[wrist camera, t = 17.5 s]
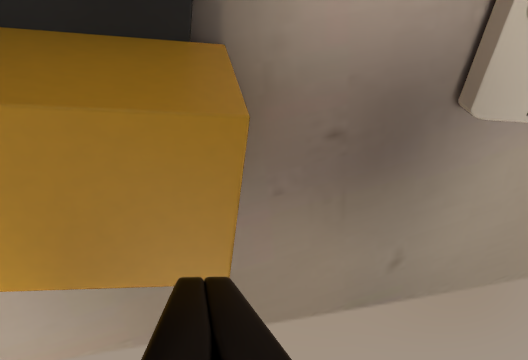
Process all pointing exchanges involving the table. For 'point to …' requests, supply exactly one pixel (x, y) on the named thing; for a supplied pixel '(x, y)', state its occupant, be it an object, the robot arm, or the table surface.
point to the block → (116, 160)
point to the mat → (102, 17)
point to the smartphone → (500, 67)
